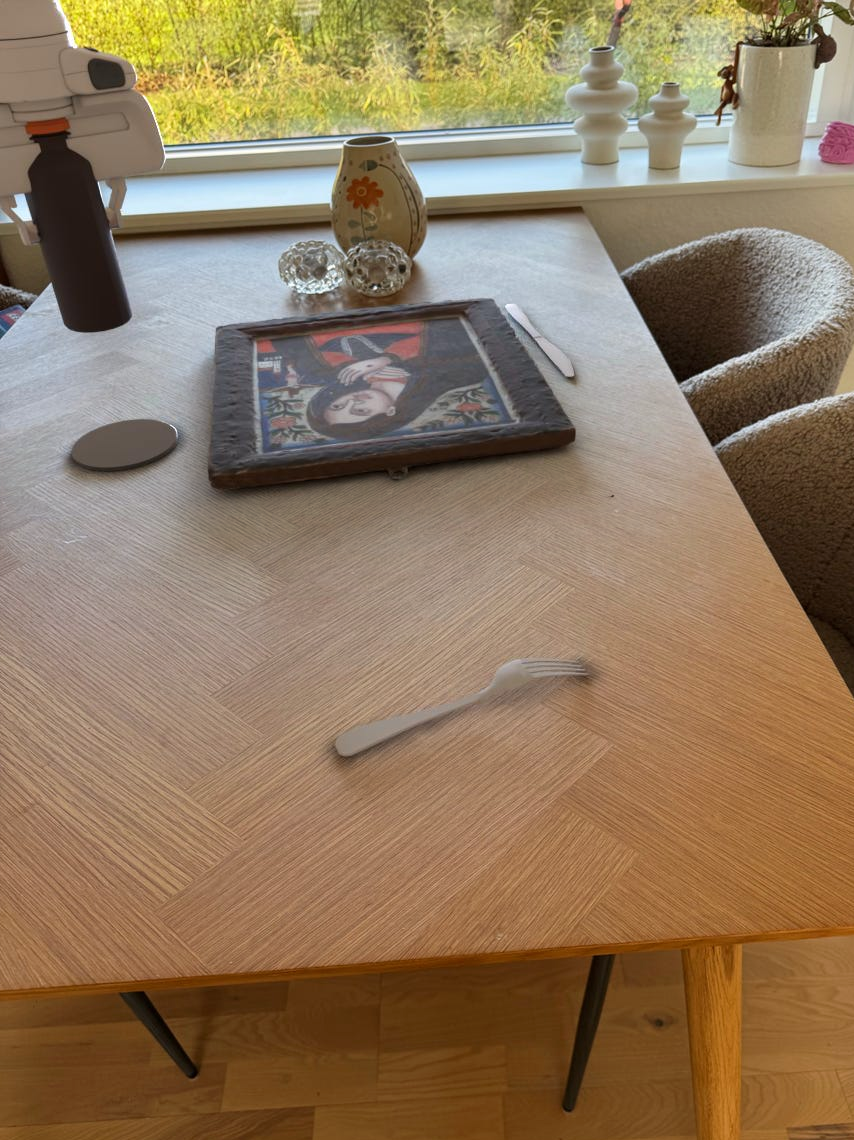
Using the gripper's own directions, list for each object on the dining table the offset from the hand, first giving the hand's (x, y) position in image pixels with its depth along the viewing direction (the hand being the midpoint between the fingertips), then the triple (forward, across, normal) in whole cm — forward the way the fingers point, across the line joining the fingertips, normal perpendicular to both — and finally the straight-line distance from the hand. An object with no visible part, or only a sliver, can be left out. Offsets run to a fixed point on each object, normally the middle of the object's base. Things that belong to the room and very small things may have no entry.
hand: (74, 235), depth 93 cm
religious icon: (+24, +30, -1) cm, 39 cm away
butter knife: (+24, +56, 0) cm, 61 cm away
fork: (+24, +9, -56) cm, 62 cm away
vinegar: (+9, 0, 0) cm, 9 cm away
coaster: (+25, 0, +4) cm, 25 cm away
